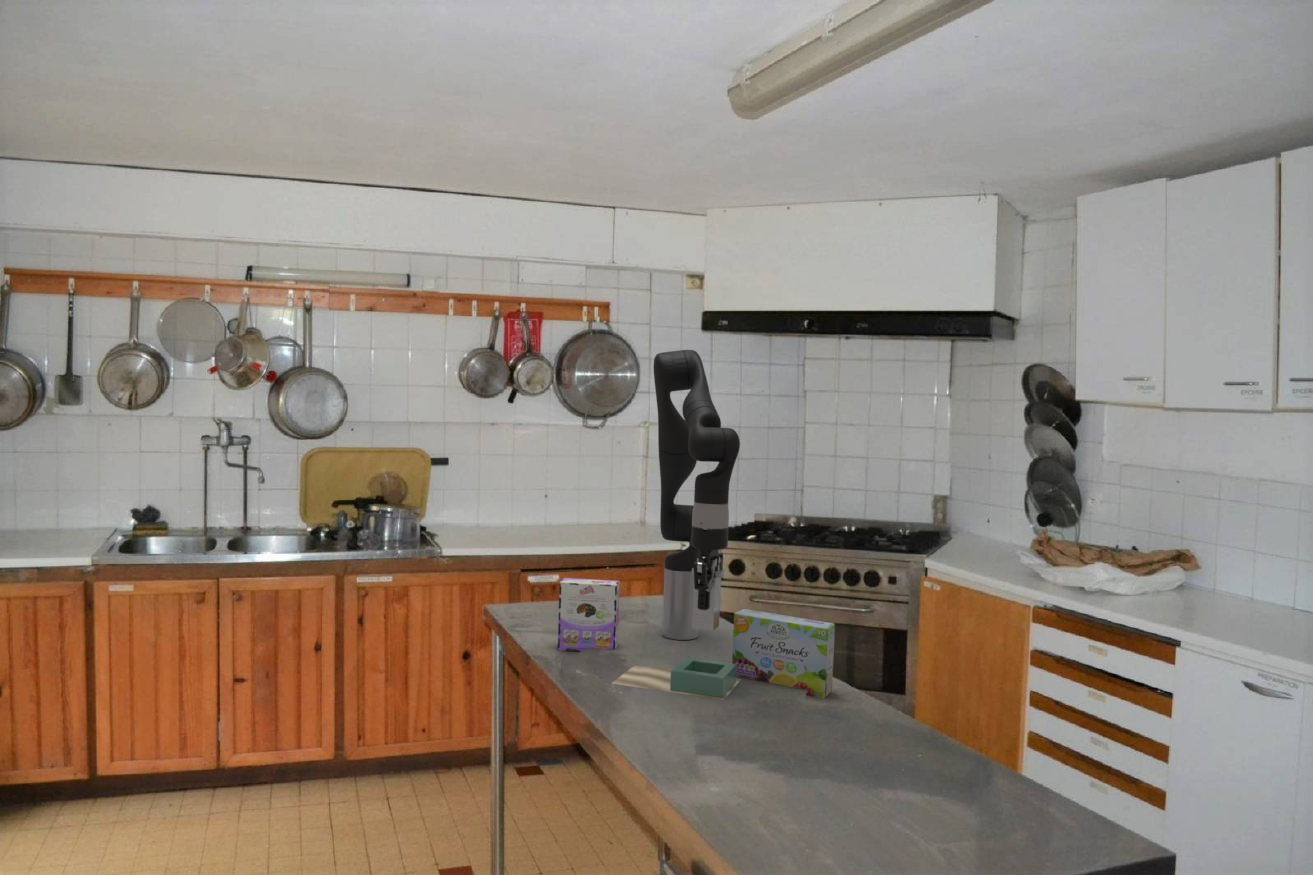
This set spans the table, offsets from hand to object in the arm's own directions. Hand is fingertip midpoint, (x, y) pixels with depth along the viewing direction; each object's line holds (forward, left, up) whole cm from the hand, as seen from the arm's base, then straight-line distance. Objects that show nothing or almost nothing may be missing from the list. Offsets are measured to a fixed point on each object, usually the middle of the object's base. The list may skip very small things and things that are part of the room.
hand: (706, 606), depth 198 cm
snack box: (-11, +14, -18) cm, 26 cm away
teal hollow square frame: (0, 0, -17) cm, 17 cm away
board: (-1, -6, -18) cm, 19 cm away
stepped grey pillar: (0, 0, -4) cm, 4 cm away
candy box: (-19, -34, -18) cm, 43 cm away
